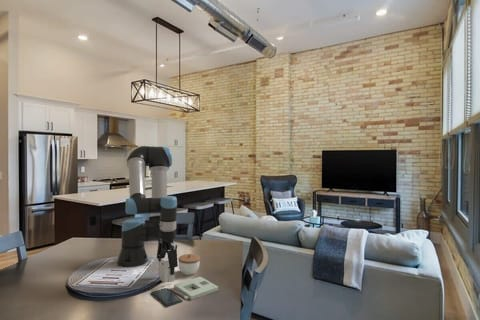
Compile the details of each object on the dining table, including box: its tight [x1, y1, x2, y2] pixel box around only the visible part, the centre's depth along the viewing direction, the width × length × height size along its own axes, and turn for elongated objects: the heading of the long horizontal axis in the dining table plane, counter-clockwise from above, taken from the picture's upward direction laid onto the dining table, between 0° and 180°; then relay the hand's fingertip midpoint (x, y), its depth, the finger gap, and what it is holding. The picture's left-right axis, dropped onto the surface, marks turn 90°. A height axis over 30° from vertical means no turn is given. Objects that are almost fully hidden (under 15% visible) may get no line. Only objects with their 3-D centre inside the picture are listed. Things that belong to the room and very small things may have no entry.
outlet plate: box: [173, 276, 219, 301], centre depth 129 cm, size 14×14×2 cm
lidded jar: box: [177, 253, 201, 276], centre depth 146 cm, size 11×11×9 cm
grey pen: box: [167, 286, 190, 300], centre depth 124 cm, size 13×1×1 cm, turn 50°
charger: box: [159, 256, 170, 284], centre depth 137 cm, size 4×4×10 cm
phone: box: [150, 287, 183, 308], centre depth 121 cm, size 14×7×1 cm, turn 42°
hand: (166, 277), depth 137 cm, fingers open, 8 cm apart
